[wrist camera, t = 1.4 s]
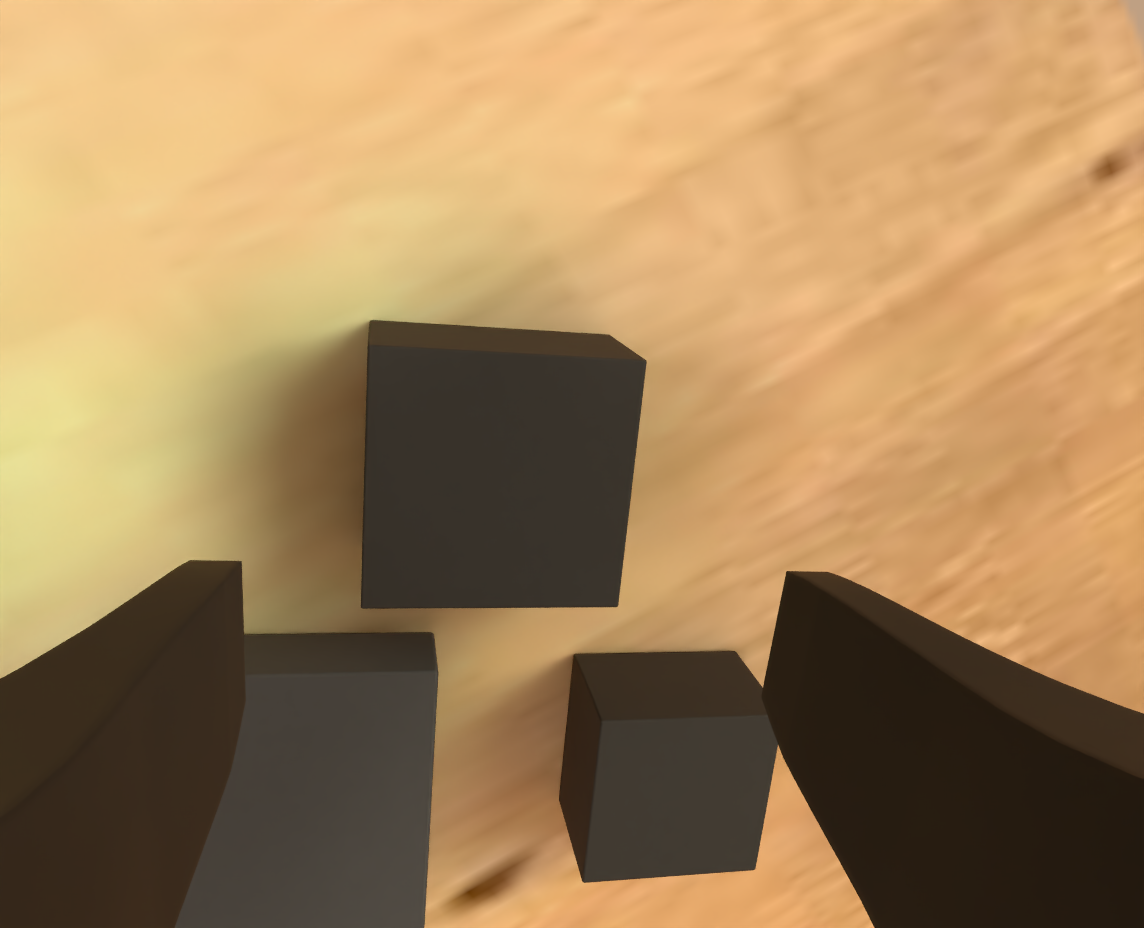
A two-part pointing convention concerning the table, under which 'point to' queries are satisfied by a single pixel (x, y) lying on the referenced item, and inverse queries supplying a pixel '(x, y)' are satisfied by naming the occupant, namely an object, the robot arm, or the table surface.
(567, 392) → the middle pad
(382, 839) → the base pad
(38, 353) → the table surface
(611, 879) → the top pad
